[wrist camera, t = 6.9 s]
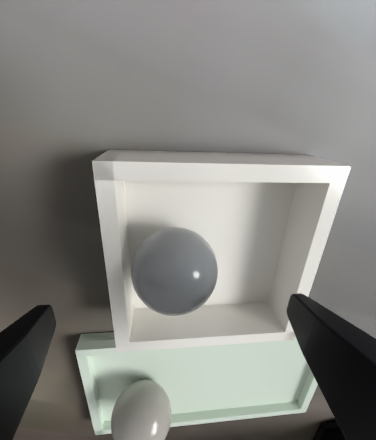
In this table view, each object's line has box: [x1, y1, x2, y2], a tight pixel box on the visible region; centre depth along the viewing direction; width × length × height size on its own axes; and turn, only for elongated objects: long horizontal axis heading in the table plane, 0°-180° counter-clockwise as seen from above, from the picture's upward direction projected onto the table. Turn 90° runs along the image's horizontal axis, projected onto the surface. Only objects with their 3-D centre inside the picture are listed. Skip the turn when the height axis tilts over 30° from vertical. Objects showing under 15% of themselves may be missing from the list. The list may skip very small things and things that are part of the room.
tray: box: [75, 332, 318, 435], centre depth 18 cm, size 10×18×1 cm, turn 88°
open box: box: [92, 149, 351, 352], centre depth 12 cm, size 10×10×3 cm
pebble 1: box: [111, 380, 172, 440], centre depth 16 cm, size 4×4×4 cm
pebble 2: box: [131, 227, 218, 316], centre depth 11 cm, size 4×4×4 cm
